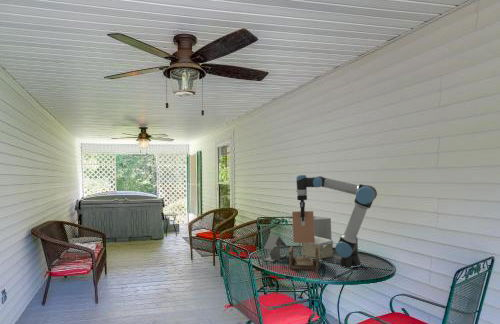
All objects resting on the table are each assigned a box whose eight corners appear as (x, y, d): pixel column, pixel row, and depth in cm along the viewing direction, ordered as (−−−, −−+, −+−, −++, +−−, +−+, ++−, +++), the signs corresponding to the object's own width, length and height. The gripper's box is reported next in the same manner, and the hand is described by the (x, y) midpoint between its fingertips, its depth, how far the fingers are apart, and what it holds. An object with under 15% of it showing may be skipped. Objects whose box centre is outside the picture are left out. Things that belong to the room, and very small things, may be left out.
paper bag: (305, 248, 306) (304, 218, 306) (315, 245, 316) (314, 216, 316) (322, 251, 292) (321, 220, 292) (332, 248, 302) (331, 218, 302)
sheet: (293, 241, 259) (292, 211, 259) (314, 242, 255) (313, 211, 256) (293, 242, 256) (292, 211, 257) (314, 242, 253) (313, 211, 253)
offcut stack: (295, 265, 251) (294, 256, 251) (313, 266, 248) (313, 256, 248) (294, 268, 245) (294, 258, 245) (313, 268, 242) (313, 259, 242)
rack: (291, 263, 262) (290, 245, 262) (318, 263, 258) (318, 246, 258) (289, 270, 244) (288, 251, 245) (318, 271, 240) (317, 252, 240)
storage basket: (300, 255, 285) (300, 238, 285) (314, 251, 293) (313, 235, 293) (320, 261, 264) (319, 243, 264) (334, 257, 273) (333, 240, 273)
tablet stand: (273, 263, 265) (272, 238, 265) (264, 261, 271) (263, 236, 271) (286, 257, 278) (285, 234, 278) (277, 255, 285) (276, 232, 285)
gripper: (297, 194, 265) (299, 223, 264) (296, 196, 249) (297, 226, 249) (307, 193, 263) (308, 223, 263) (306, 195, 248) (307, 226, 248)
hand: (303, 224), depth 256 cm, fingers closed on sheet, 2 cm apart
